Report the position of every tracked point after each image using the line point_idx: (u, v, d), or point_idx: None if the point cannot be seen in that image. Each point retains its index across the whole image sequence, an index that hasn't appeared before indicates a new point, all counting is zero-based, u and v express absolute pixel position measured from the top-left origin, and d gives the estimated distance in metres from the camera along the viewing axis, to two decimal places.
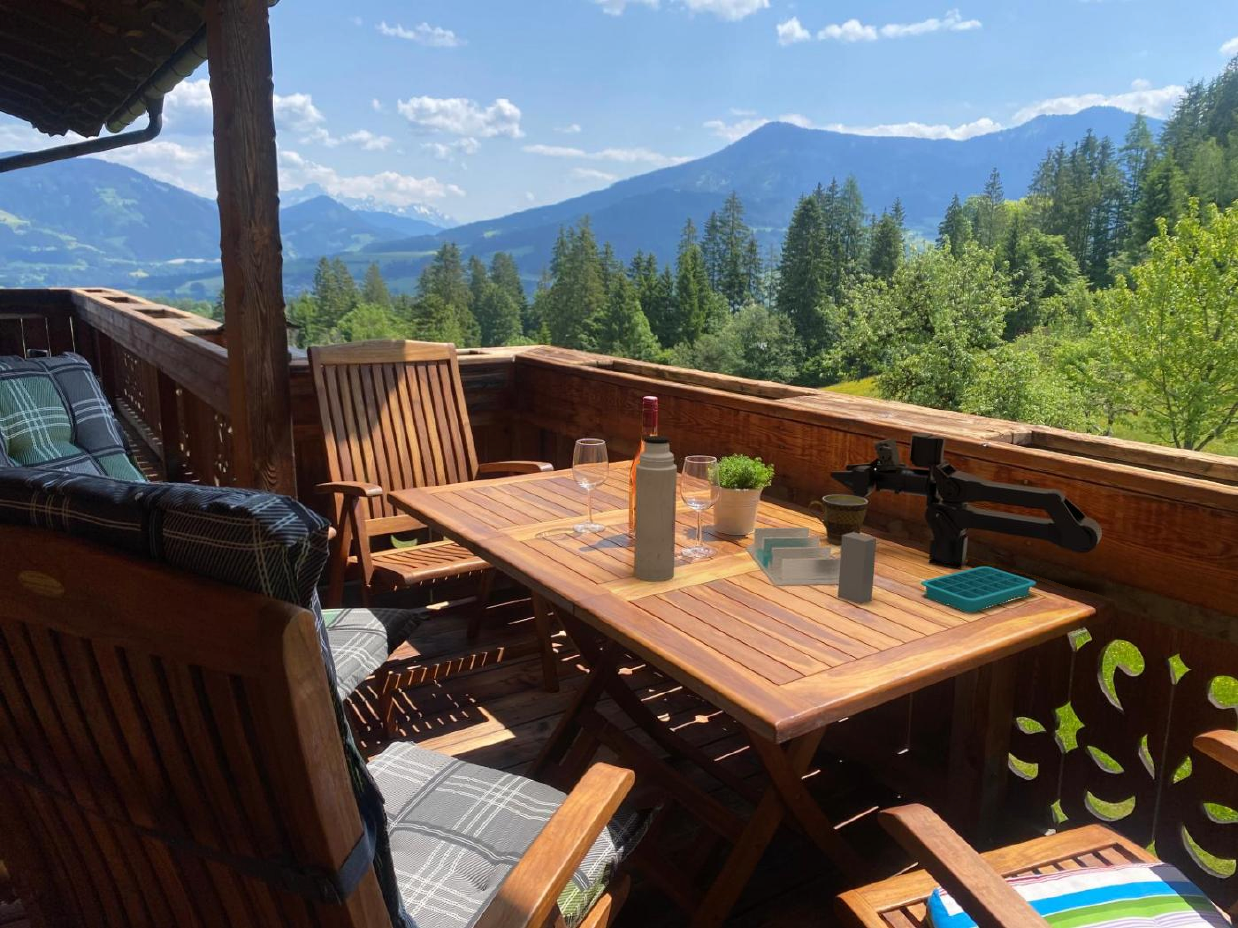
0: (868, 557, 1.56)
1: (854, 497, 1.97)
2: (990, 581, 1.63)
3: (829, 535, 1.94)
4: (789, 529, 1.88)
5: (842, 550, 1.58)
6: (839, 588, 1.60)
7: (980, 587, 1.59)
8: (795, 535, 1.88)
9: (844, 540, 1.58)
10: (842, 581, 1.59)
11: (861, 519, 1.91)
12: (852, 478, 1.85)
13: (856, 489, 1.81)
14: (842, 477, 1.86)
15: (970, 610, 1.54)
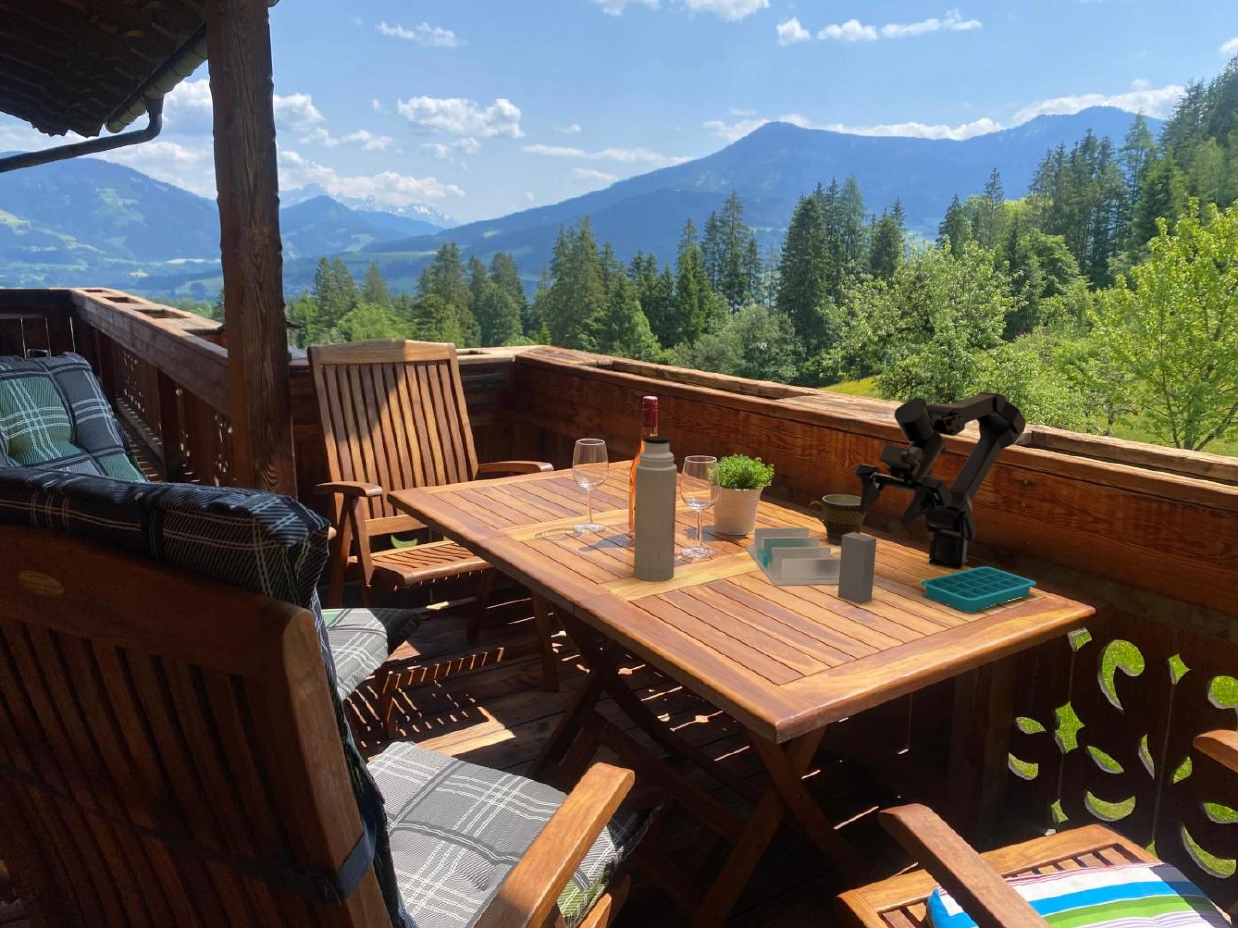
0: (868, 557, 1.56)
1: (854, 497, 1.97)
2: (990, 581, 1.63)
3: (829, 535, 1.94)
4: (789, 529, 1.88)
5: (842, 550, 1.58)
6: (839, 588, 1.60)
7: (980, 587, 1.59)
8: (795, 535, 1.88)
9: (844, 540, 1.58)
10: (842, 581, 1.59)
11: (861, 519, 1.91)
12: (921, 502, 1.60)
13: (946, 501, 1.59)
14: (914, 512, 1.59)
15: (969, 610, 1.54)
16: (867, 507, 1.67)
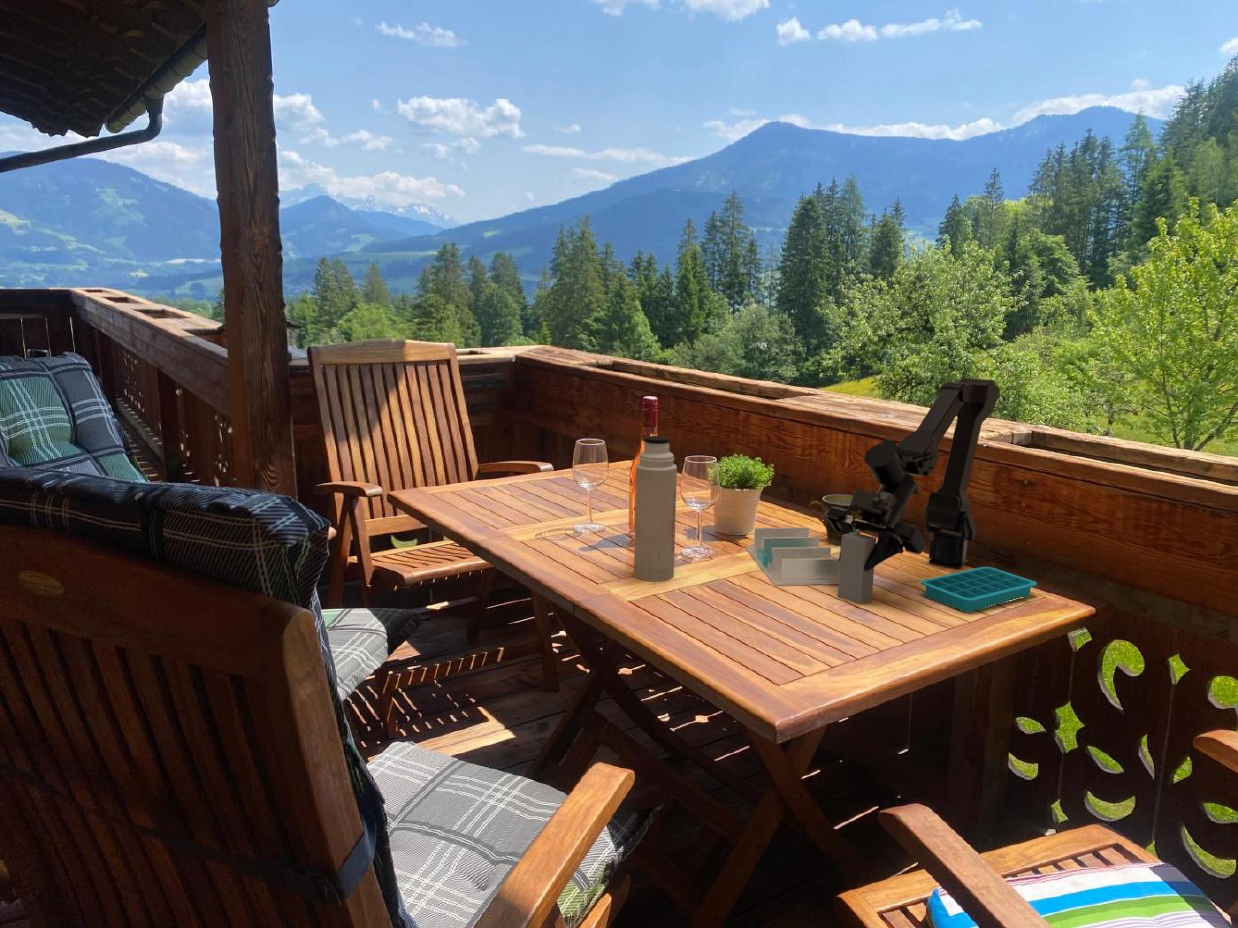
0: None
1: None
2: (990, 581, 1.63)
3: (829, 535, 1.94)
4: (789, 529, 1.88)
5: (842, 550, 1.58)
6: (839, 588, 1.60)
7: (980, 587, 1.59)
8: (795, 535, 1.88)
9: (844, 540, 1.58)
10: (842, 581, 1.59)
11: None
12: (884, 547, 1.56)
13: (919, 548, 1.54)
14: (878, 557, 1.56)
15: (968, 610, 1.54)
16: None
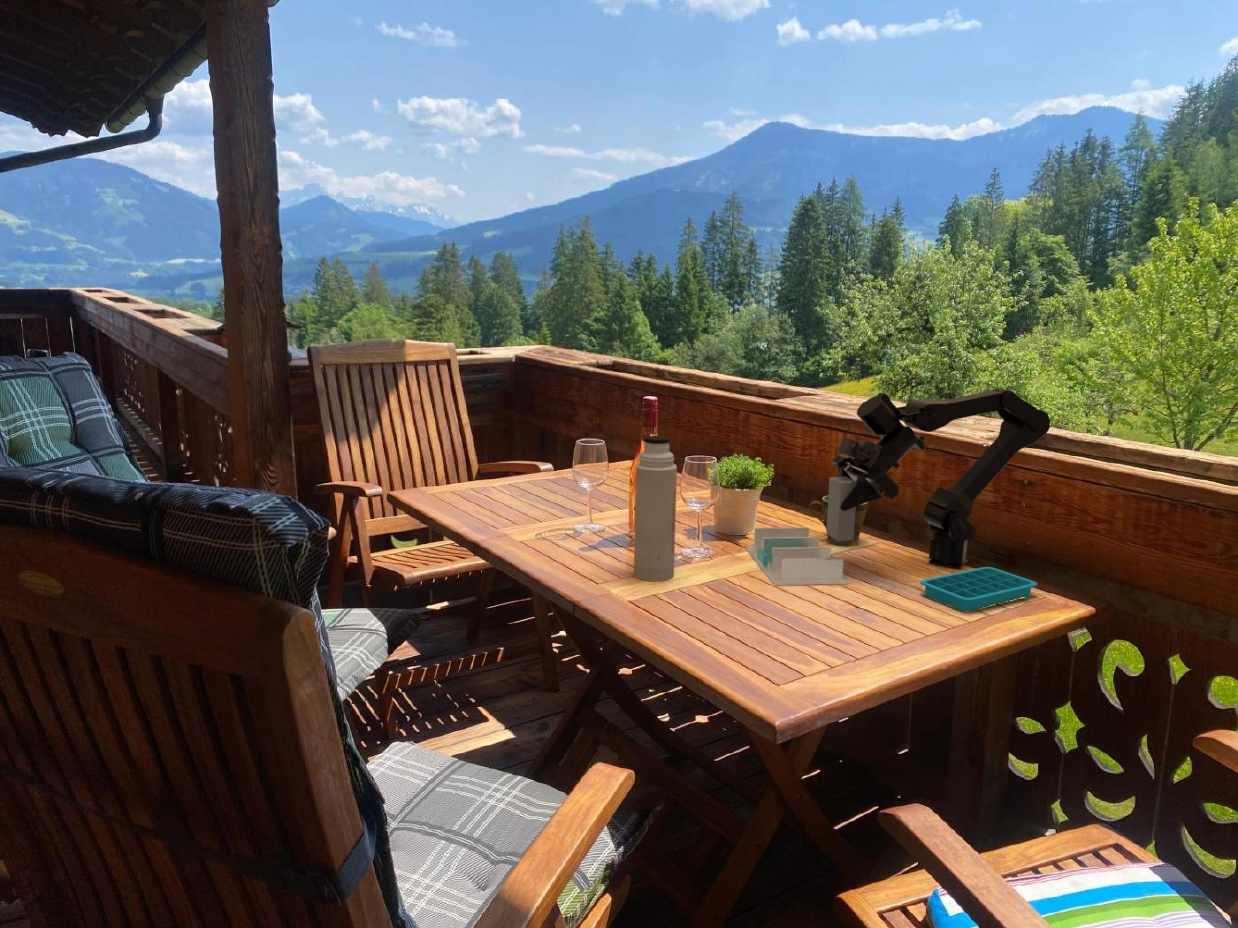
0: None
1: None
2: (991, 581, 1.63)
3: None
4: (789, 529, 1.88)
5: (829, 491, 1.74)
6: (827, 526, 1.76)
7: (979, 587, 1.59)
8: (795, 535, 1.88)
9: (830, 482, 1.73)
10: (828, 520, 1.75)
11: (861, 519, 1.91)
12: (863, 491, 1.69)
13: (890, 494, 1.64)
14: (855, 499, 1.69)
15: (967, 609, 1.54)
16: None
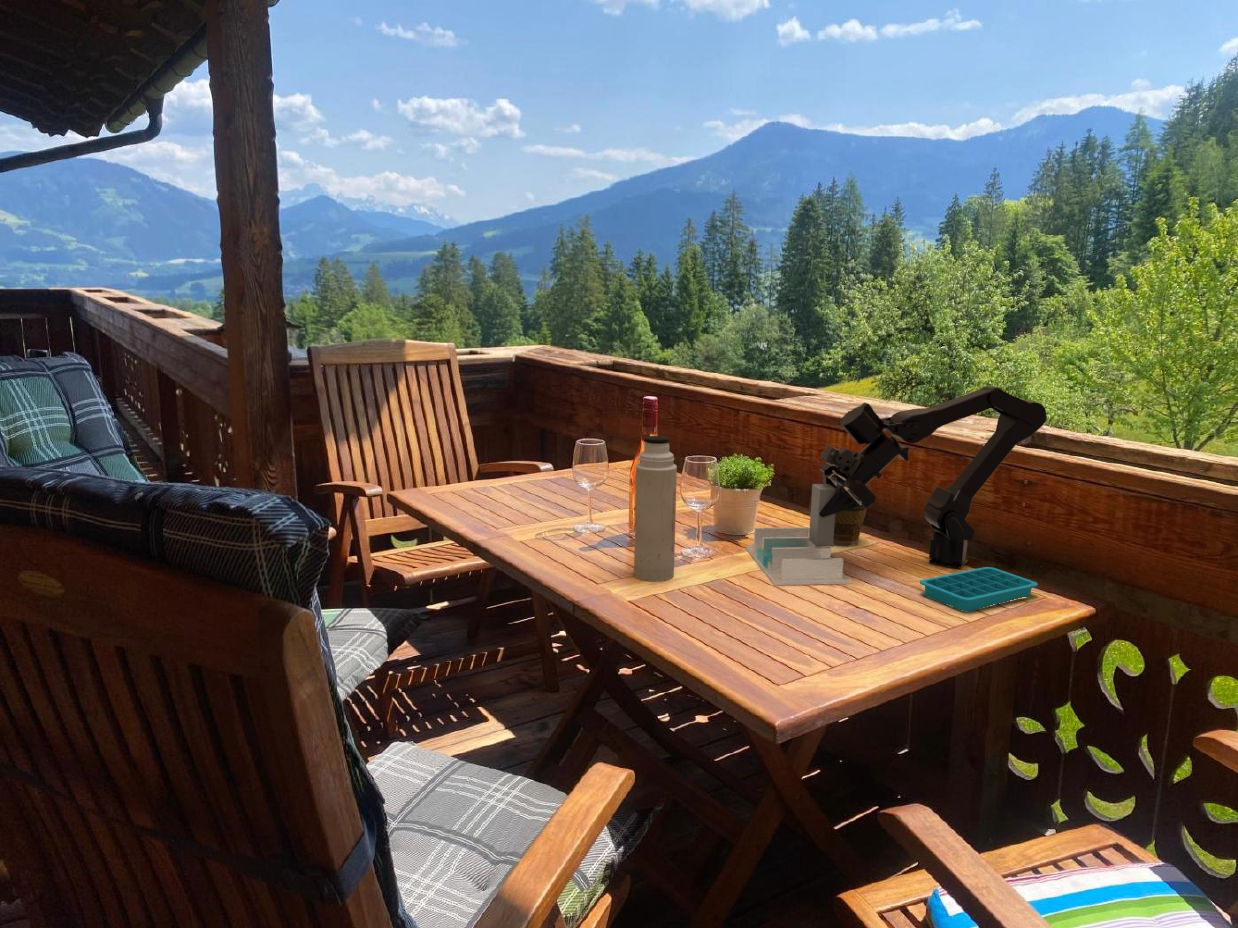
0: None
1: None
2: (991, 581, 1.63)
3: None
4: (789, 529, 1.88)
5: (812, 497, 1.78)
6: (809, 532, 1.79)
7: (979, 587, 1.59)
8: (795, 535, 1.88)
9: (813, 488, 1.77)
10: (810, 525, 1.78)
11: (861, 519, 1.91)
12: (842, 498, 1.72)
13: (865, 502, 1.67)
14: (834, 507, 1.72)
15: (966, 609, 1.54)
16: None
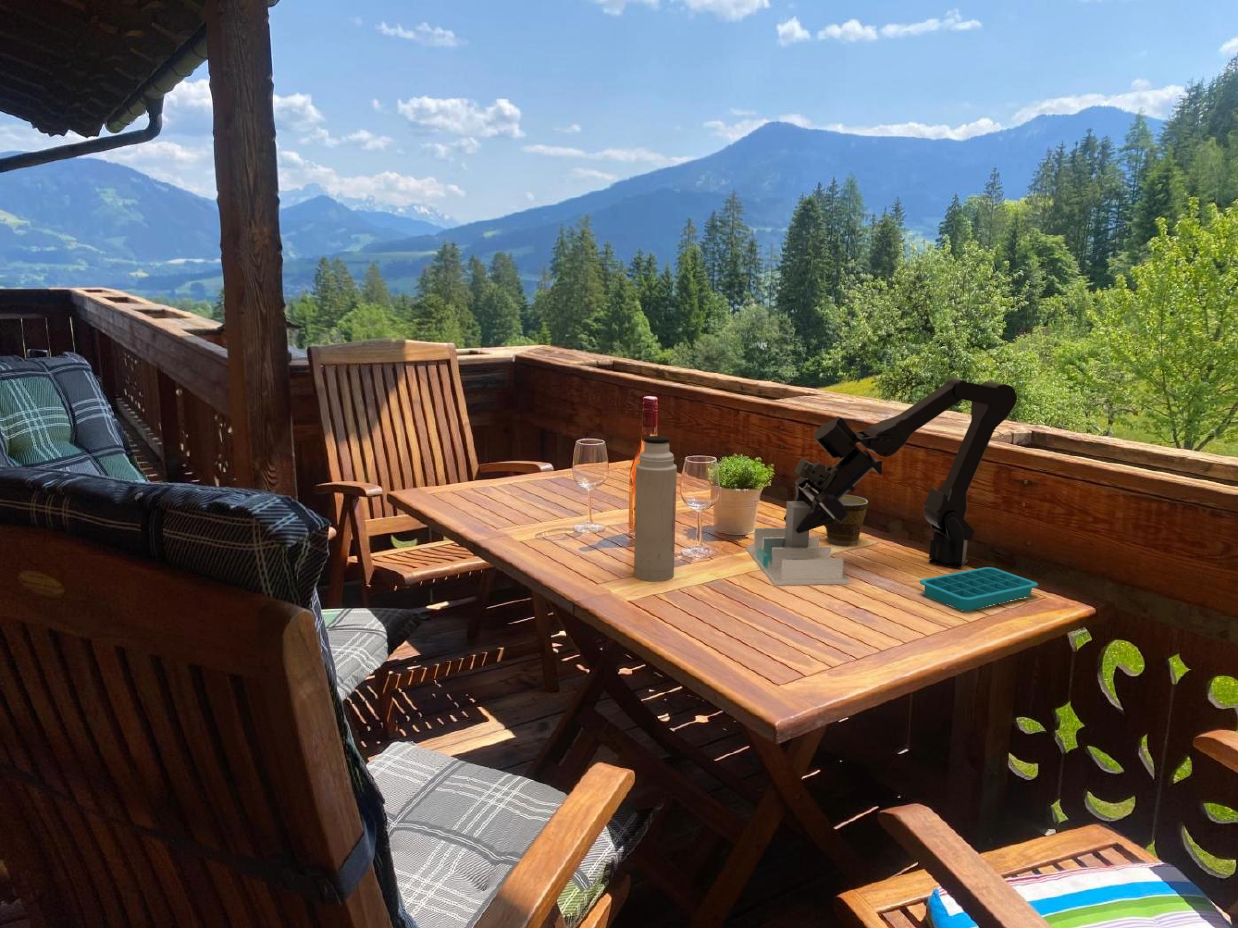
0: None
1: (854, 497, 1.97)
2: (991, 581, 1.63)
3: (829, 535, 1.94)
4: None
5: (786, 515, 1.78)
6: None
7: (979, 587, 1.59)
8: None
9: (787, 506, 1.77)
10: (785, 542, 1.79)
11: (861, 519, 1.91)
12: (818, 514, 1.71)
13: (838, 516, 1.67)
14: (810, 523, 1.71)
15: (965, 609, 1.54)
16: None
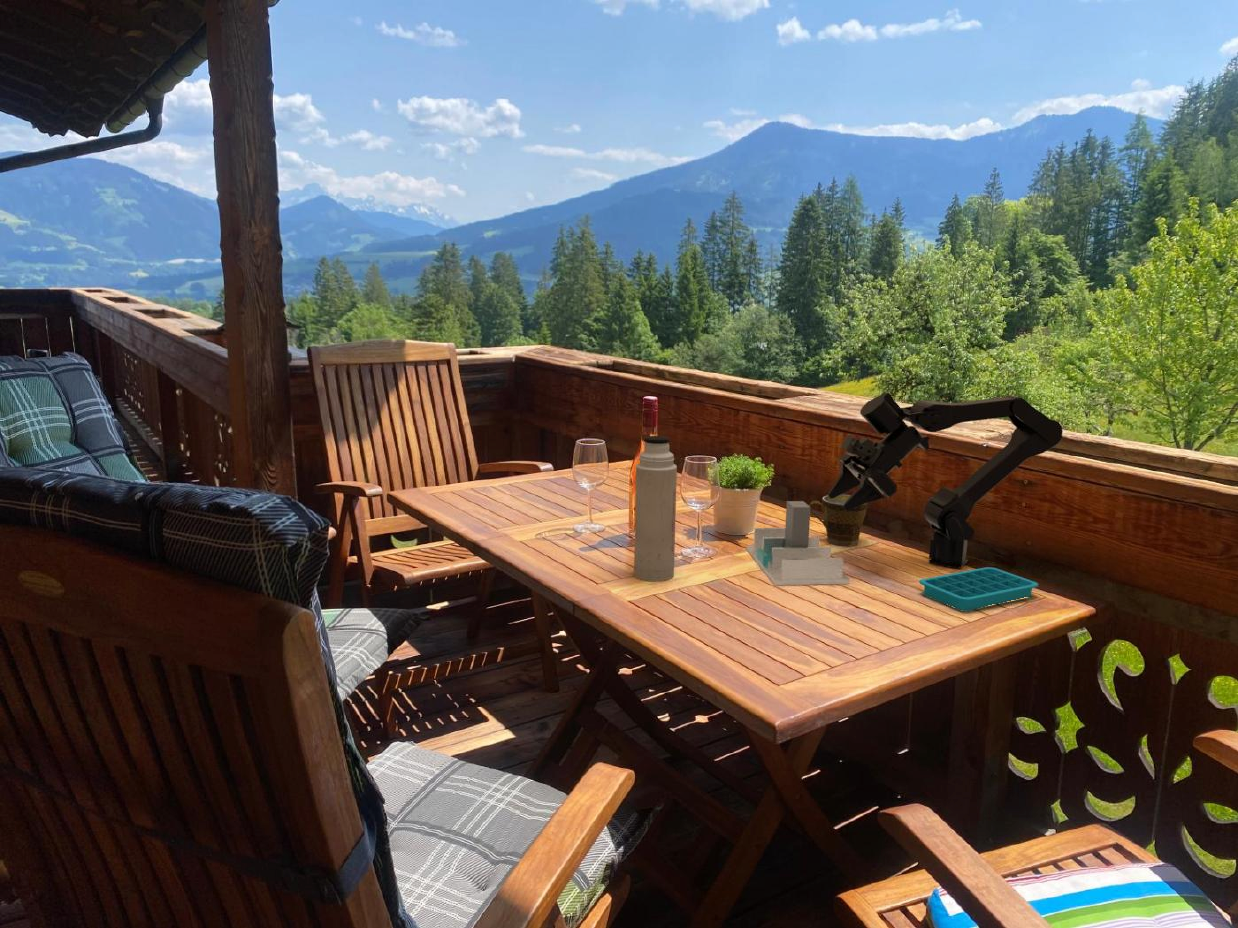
0: (800, 522, 1.74)
1: None
2: (991, 581, 1.62)
3: (829, 535, 1.94)
4: None
5: (786, 515, 1.78)
6: None
7: (979, 587, 1.59)
8: None
9: (787, 506, 1.77)
10: (785, 542, 1.79)
11: (861, 519, 1.91)
12: (866, 490, 1.70)
13: (887, 491, 1.67)
14: (858, 499, 1.70)
15: (964, 609, 1.54)
16: (839, 492, 1.80)
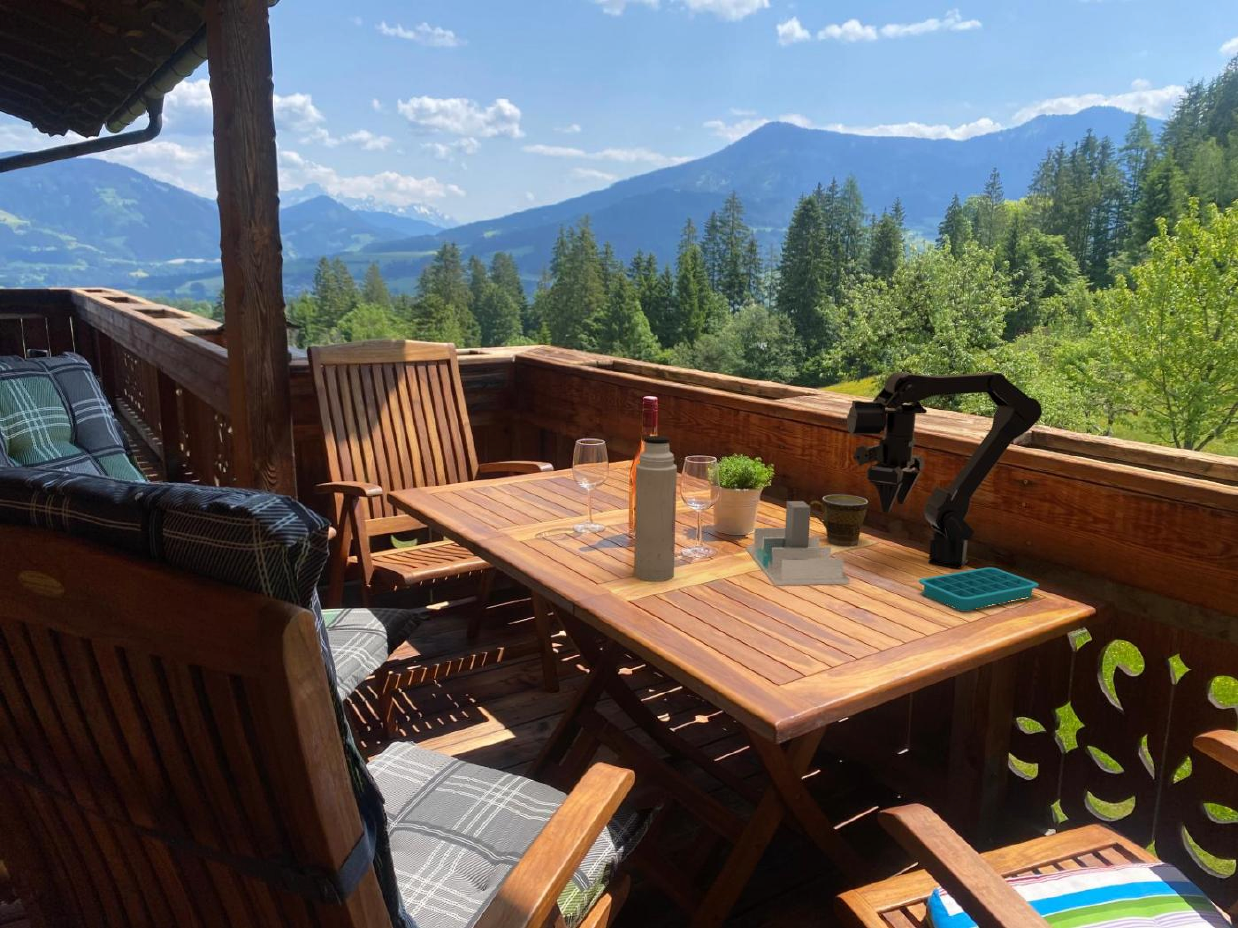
0: (800, 522, 1.74)
1: (854, 497, 1.97)
2: (991, 582, 1.62)
3: (829, 535, 1.94)
4: None
5: (786, 515, 1.78)
6: None
7: (978, 587, 1.59)
8: None
9: (787, 506, 1.77)
10: (785, 542, 1.79)
11: (861, 519, 1.91)
12: (886, 487, 1.73)
13: (888, 480, 1.68)
14: (886, 498, 1.73)
15: (964, 609, 1.54)
16: (903, 494, 1.81)
